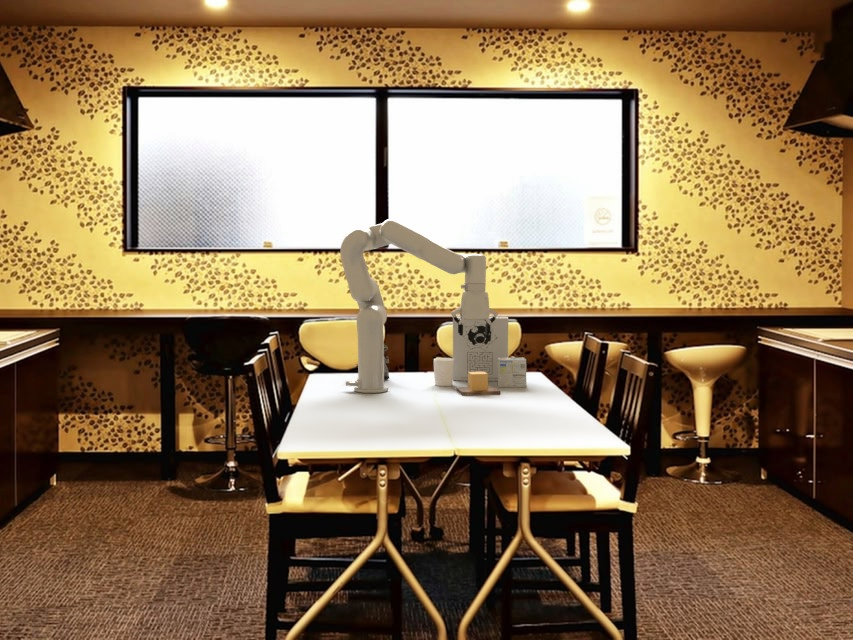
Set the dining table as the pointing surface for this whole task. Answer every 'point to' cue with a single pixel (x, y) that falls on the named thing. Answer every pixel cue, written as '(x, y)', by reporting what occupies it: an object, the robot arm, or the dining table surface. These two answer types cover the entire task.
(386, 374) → the figurine
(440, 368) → the white cup
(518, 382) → the light bulb box
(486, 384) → the ochre cube
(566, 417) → the dining table surface
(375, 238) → the robot arm
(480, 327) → the cereal box
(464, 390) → the walnut board
